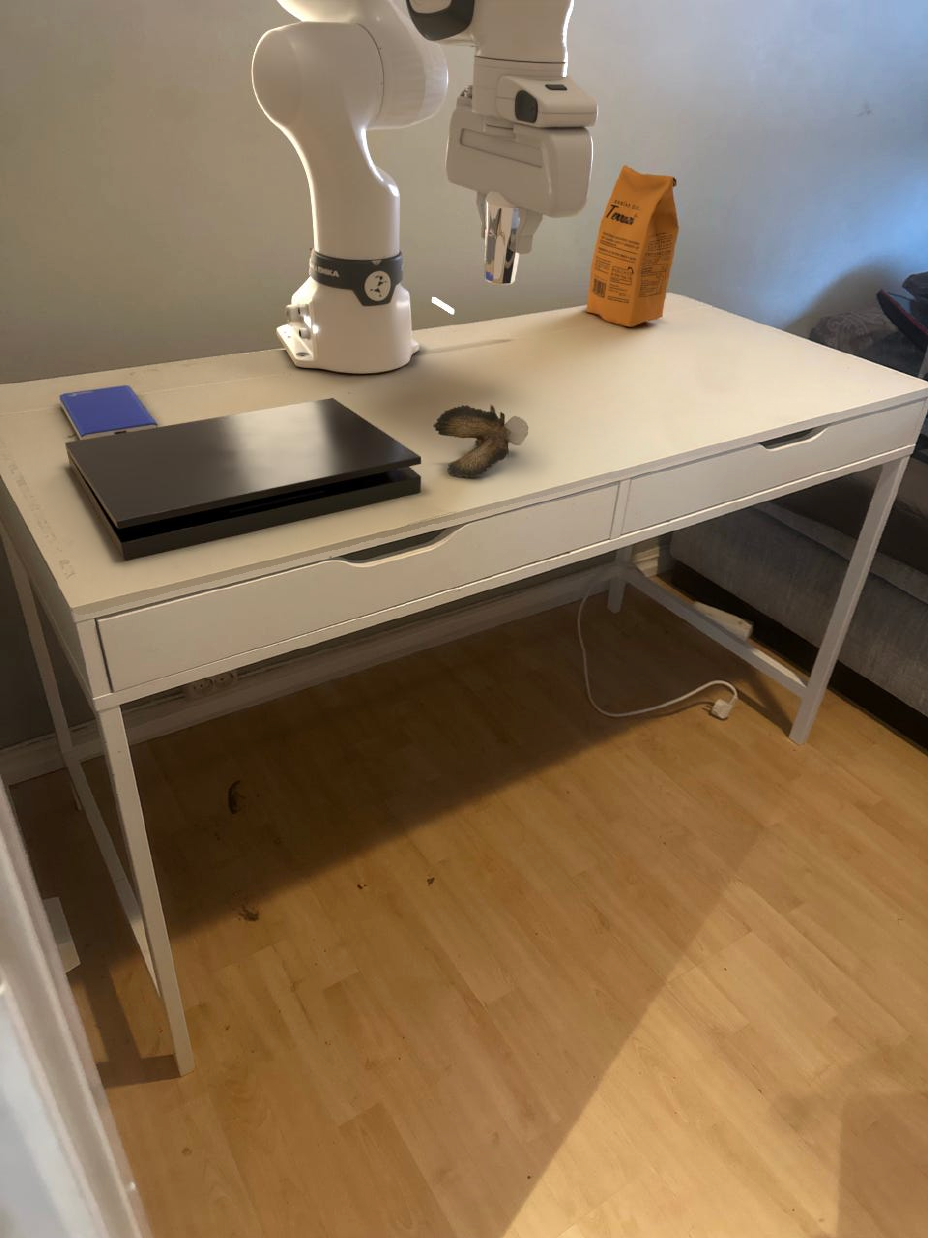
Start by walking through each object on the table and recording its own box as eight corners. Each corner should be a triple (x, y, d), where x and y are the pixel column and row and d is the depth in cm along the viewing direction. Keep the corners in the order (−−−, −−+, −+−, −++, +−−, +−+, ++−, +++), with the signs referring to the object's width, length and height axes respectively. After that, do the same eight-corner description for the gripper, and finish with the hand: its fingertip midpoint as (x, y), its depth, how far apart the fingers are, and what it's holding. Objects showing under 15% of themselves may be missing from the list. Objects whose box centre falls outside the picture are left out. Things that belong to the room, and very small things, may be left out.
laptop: (420, 492, 92) (421, 475, 91) (124, 561, 78) (120, 542, 77) (333, 419, 106) (333, 404, 105) (70, 466, 93) (66, 450, 91)
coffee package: (620, 303, 154) (641, 161, 142) (670, 323, 146) (697, 175, 133) (575, 309, 150) (593, 164, 137) (624, 330, 141) (648, 178, 129)
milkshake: (525, 290, 94) (537, 187, 87) (475, 283, 94) (484, 180, 88) (530, 278, 97) (542, 178, 91) (482, 271, 98) (491, 171, 92)
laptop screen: (421, 465, 90) (421, 456, 90) (118, 530, 77) (116, 521, 76) (333, 405, 105) (333, 397, 105) (66, 450, 92) (64, 442, 91)
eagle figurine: (472, 428, 103) (419, 435, 97) (508, 386, 99) (455, 390, 92) (507, 480, 102) (456, 491, 95) (545, 440, 97) (494, 448, 91)
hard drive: (58, 393, 104) (80, 433, 96) (129, 383, 108) (157, 421, 99) (61, 406, 105) (83, 447, 97) (131, 396, 109) (159, 434, 100)
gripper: (433, 82, 91) (429, 226, 99) (556, 107, 77) (539, 273, 85) (484, 82, 94) (476, 223, 102) (611, 107, 80) (589, 267, 88)
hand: (505, 246), depth 94 cm, fingers closed on milkshake, 4 cm apart
